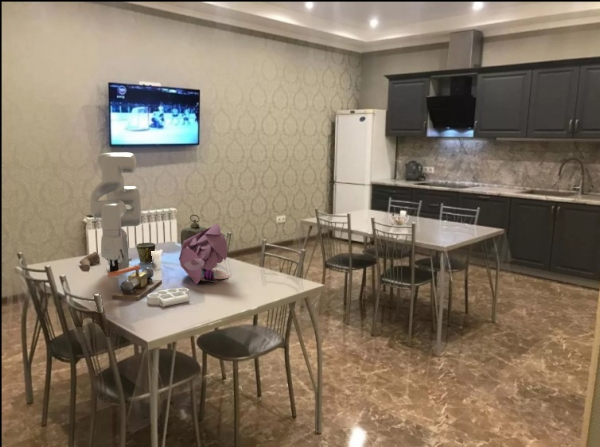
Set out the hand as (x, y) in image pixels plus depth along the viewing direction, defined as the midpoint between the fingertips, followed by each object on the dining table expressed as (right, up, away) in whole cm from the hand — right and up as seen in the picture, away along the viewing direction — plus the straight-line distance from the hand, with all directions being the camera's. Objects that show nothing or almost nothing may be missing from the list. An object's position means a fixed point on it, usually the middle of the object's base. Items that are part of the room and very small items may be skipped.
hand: (114, 273), depth 212 cm
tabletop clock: (+21, +2, +64) cm, 68 cm away
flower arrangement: (+35, -5, +31) cm, 47 cm away
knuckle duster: (+25, -11, -3) cm, 27 cm away
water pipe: (+7, -7, +8) cm, 13 cm away
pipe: (-30, -1, +47) cm, 55 cm away
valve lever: (+4, +1, +1) cm, 4 cm away
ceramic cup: (-3, 0, +53) cm, 53 cm away
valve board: (+7, -8, +8) cm, 14 cm away
